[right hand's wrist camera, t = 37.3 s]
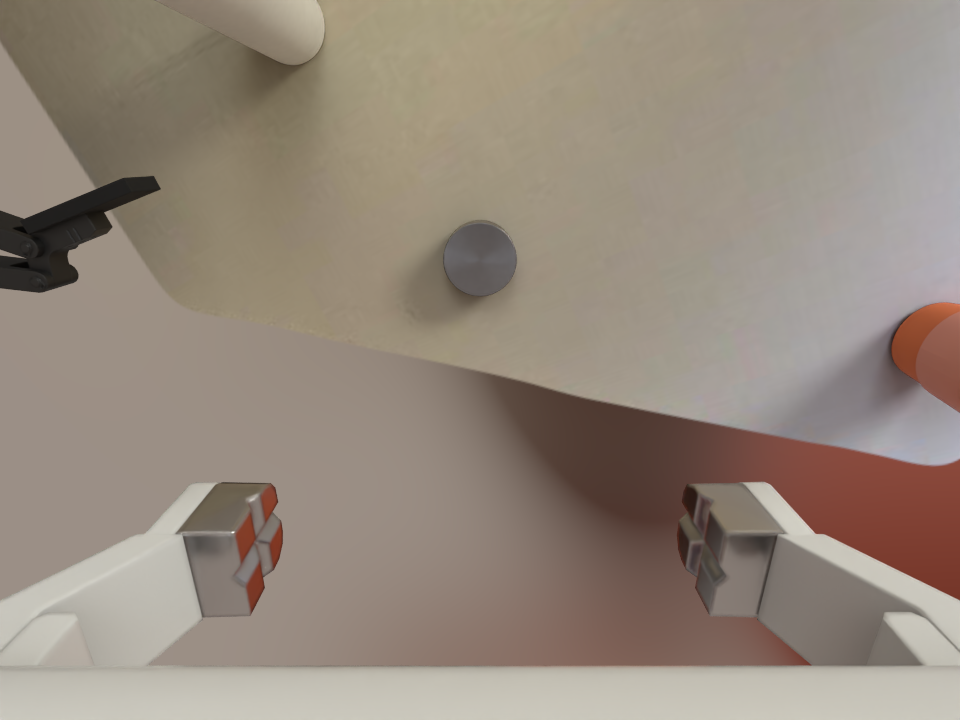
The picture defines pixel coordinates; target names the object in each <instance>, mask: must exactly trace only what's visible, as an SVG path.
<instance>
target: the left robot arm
mask: <svg viewBox="0 0 960 720" xmlns="http://www.w3.org/2000/svg"><path fill="white" fill-rule="evenodd" d="M160 189H161V188H160V187H159V185H158V183H157V181H156V179H155V177H154V176H148V177H131V178H122V179H120V180H117V181H115V182H112V183H110V184H108V185H105V186H103V187H100V188H98V189H96V190H93V191H91V192H88V193H86V194H83V195H81V196H79V197H76V198H74V199H71V200H69V201H67V202H64V203H62V204H59V205H57V206H54V207H52V208H50V209H47V210H45V211H43V212H40V213H38V214H35V215H33V216H30V217H28V218H25V219H23V218H20V217H17V216H14V215H11V214H8V213H5V212H3V211H0V249H1V250H4V251H6V252H9V253H12V254H15V255H18V256H21V257H24V258H16V257H8V256H0V288H4V289H12V290H21V291H29V292H38V293H40V292H45V291H48V290H52V289H55V288H58V287H62V286H65V285H68V284H71V283H74V282H76V281H77V279H78V272H77V270H76V269H75V267H73V266H72V265H70V264H69V262H68V257H67V255H68V251H69V250H72V249H75V248H77V247H78V245H79V244H82V243H84V242H86V241H89V240H92V239H94V238H96V237H99V236H101V235H104V234H107V233H108V232H109V230H110V229H111V228H112V225H111V224H110V222H109V220H108V219H107V217H106V215H105V213H104V212H106V211H109V210H111V209H113V208H116V207H118V206H121V205H123V204H126V203H128V202H131V201H133V200H136V199H138V198H141V197H143V196H145V195H148V194H150V193H153V192H155V191H158V190H160ZM25 258H27V259H25Z"/></svg>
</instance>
